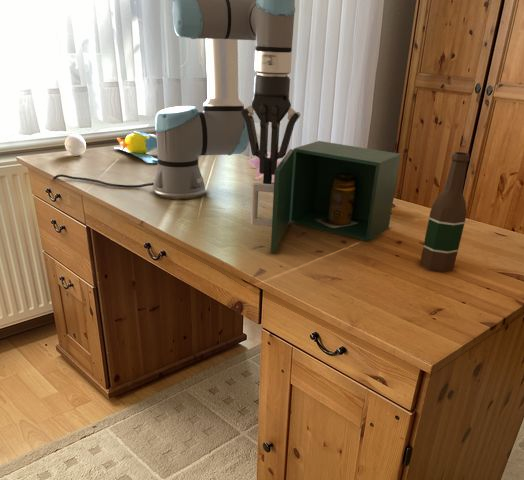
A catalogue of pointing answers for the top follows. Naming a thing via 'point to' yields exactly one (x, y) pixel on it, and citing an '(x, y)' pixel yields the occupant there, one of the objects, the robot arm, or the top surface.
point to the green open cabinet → (366, 185)
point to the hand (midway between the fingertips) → (267, 188)
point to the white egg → (75, 145)
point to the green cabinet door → (276, 200)
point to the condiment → (341, 201)
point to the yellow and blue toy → (139, 145)
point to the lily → (256, 162)
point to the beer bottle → (446, 220)
